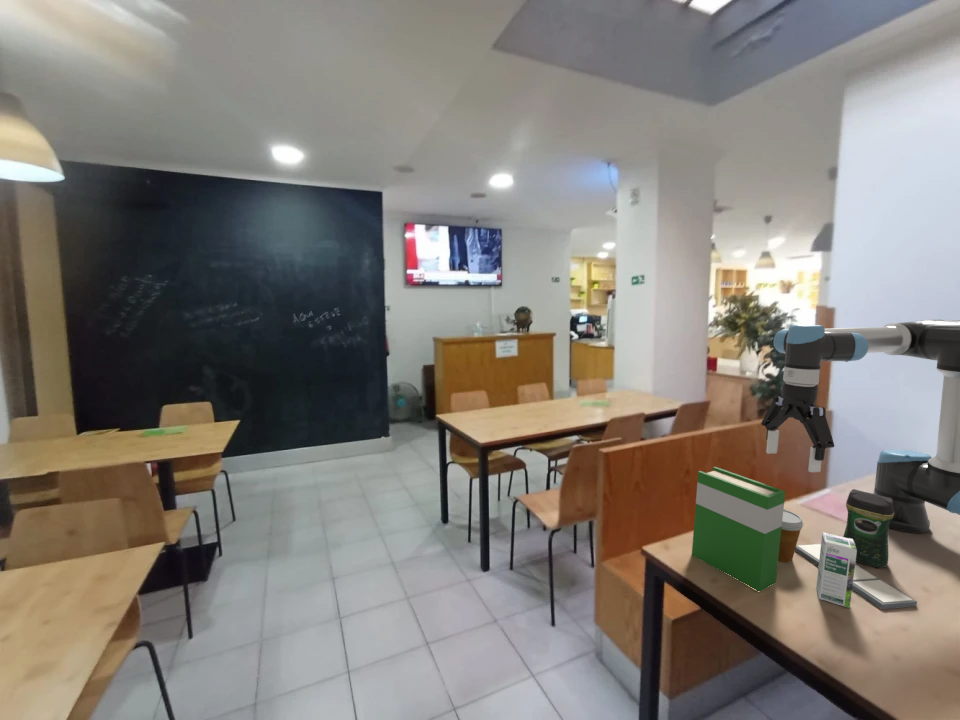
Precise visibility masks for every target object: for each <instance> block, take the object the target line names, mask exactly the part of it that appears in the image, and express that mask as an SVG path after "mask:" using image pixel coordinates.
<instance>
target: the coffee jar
mask: <svg viewBox="0 0 960 720" xmlns="http://www.w3.org/2000/svg"><path fill="white" fill-rule="evenodd" d="M845 501H846V502H845V508H846V510H847V517H846V518H847V519H846V524H845V528H844V533H843V536H842V537H845V538H850V539H853V541H854V543H855V546H856V549H857V554H856V563H857V562H858V563H860V564H863V565H867V566H869V567H874V568H878V569H879V568H885V567H887V566H888V563H889V522H890V520H891V519H892V518H893V516H894V507H893V500H892V499H891V498H889V497H884V496H880V495H876V494H873V493H871V492H867V491H863V490H858V489H855V488H852V489H851V490H850V492H849V493H848V496H847V499H846V500H845Z"/></svg>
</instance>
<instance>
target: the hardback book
mask: <svg viewBox="0 0 960 720" xmlns="http://www.w3.org/2000/svg"><path fill="white" fill-rule="evenodd" d="M697 472H698V473H697V482H696V483H697V484H696V497H695V509H694V522H693V533H692V534H693V537H692V546H691V547H692V548H691V555H692V556H693V557H695V558H697V559H698V560H700V561H702V562H703V563H705V564H707V565H709V566H710V567H712V566H713V568H714V567H715V568H714V569H716V568H717V569H716V570H718V569H719V570H718V571H720V570H721V571H723V572H725V573H727V574H729V575H731V576H732V577H734V578H736V579H738V580H739V581H741V582H743V583H745V584H747V585H749V586H750V587H752V588H754V589H756V590H757V591H761V590H763V589H764V590H766V589H768V588H769V587H768V586H770V585H771V586H773V585H775V584H776V583H777V575H778V574H777V572H778V565H779V564H778V563H779V561H778V556H779V547H780V538H781V528H782V519H783V510H784V507H785V499H786V490H783V489H780V488H777V487H774V486H771V485H769V484H765V483H763V482H760V481H757V480H754V479H751V478H748V477H746V476H742V475H741V474H738V473H734V472H731V471H729V470H726V469H723V468H720V467H717V466H713V467H712V471H708V472H704V471H701V470H698V471H697ZM721 571H720V572H721ZM723 572H722V573H723ZM725 573H724V574H725ZM727 574H726V575H727ZM732 577H731V578H732ZM734 578H733V579H734ZM736 579H735V580H736ZM739 581H738V582H739ZM741 582H740V583H741ZM743 583H742V584H743ZM774 583H775V584H774ZM745 584H744V585H745ZM772 584H773V585H772ZM771 586H770V587H771ZM750 587H749V588H750ZM767 587H768V588H767ZM752 588H751V589H752ZM765 588H766V589H765ZM764 590H763V591H764ZM757 591H756V592H757ZM761 592H762V591H761Z"/></svg>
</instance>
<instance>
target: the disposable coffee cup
mask: <svg viewBox="0 0 960 720" xmlns="http://www.w3.org/2000/svg"><path fill="white" fill-rule="evenodd" d="M804 526H805V525H804V523H803V518H802V517H801V516H800V515H798V514H797V513H795V512H793V511H791V510H787V509H784V510H783V519H782V528H781V538H780V547H779V556H778V563H779V562H780V563H791V562H792V561H793V559H794V555H795V552H796V551H795V548H796V545H797V543H798V540H799V537H800V533H801V531H802V529H803V527H804Z"/></svg>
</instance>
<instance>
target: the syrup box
mask: <svg viewBox="0 0 960 720" xmlns="http://www.w3.org/2000/svg"><path fill="white" fill-rule="evenodd" d="M820 540H821V541H820V544H821V549H820V559H819V567H818V569H817V580H816V591H817V597H818V599H819V600H821V601H826V602H829V603H831V604H835V605H838V606H842V607H845V608H848V609H850V607H851V599H852V593H853V589H852V585H853V577H854V569H855V564H856V563H857V561H856V554H857V549H856V546H855V543H854V541H853V539H850V538H845V537H843V536H840V535H837V534H831V533H827V532H825V531H824V532H822V533H821V539H820Z"/></svg>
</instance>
